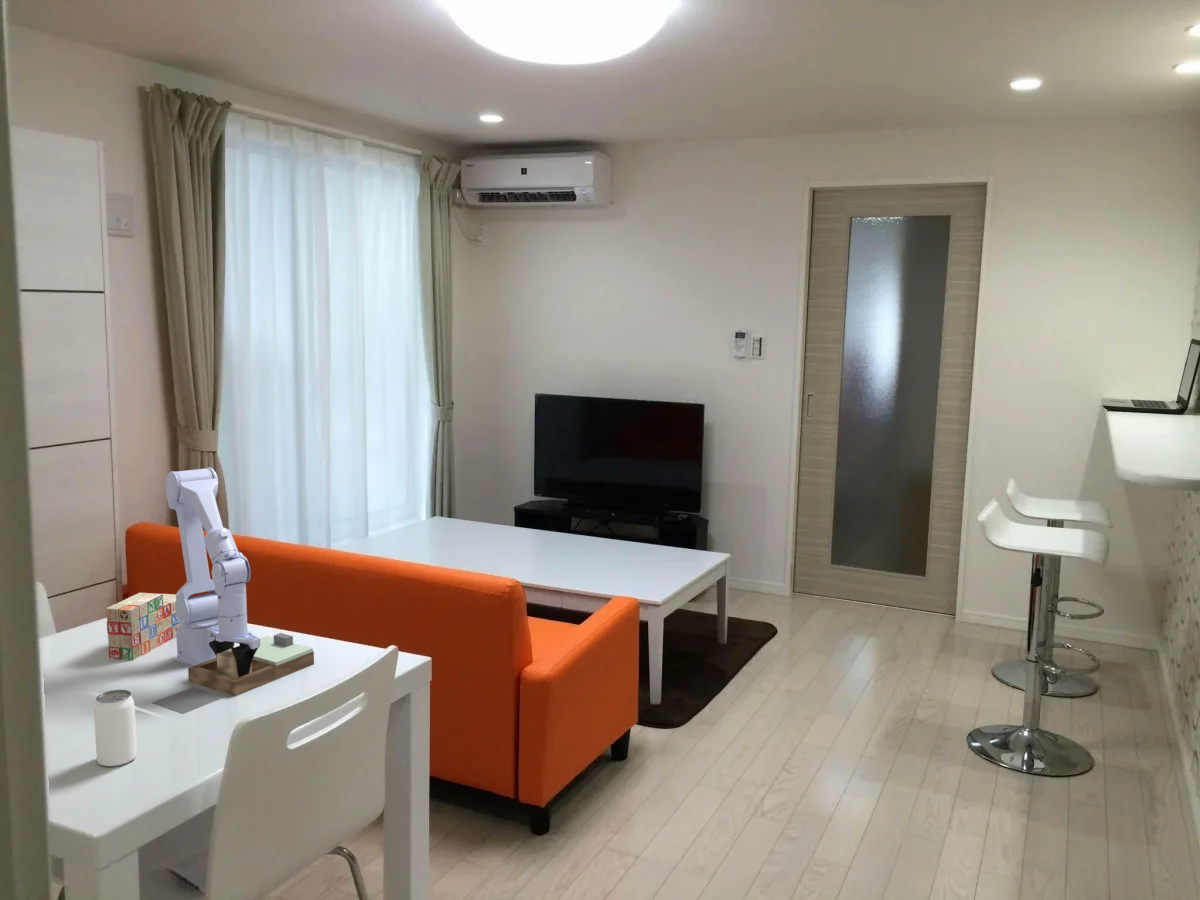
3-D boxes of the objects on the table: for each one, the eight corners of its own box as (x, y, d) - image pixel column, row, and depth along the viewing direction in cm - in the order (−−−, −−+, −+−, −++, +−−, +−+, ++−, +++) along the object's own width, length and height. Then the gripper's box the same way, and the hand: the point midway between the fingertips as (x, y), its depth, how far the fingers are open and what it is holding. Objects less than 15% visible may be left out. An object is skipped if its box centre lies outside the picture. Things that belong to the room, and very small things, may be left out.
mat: (151, 705, 197) (150, 702, 197) (193, 688, 205) (193, 686, 205) (183, 716, 192) (182, 713, 192) (225, 699, 201) (225, 696, 200)
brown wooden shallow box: (188, 683, 208) (188, 667, 208) (268, 653, 227) (267, 639, 226) (236, 698, 201) (235, 682, 201) (314, 666, 219) (313, 651, 219)
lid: (229, 652, 217) (229, 640, 217) (266, 639, 226) (266, 627, 226) (276, 665, 210) (275, 653, 209) (312, 651, 219) (312, 639, 218)
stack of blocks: (165, 629, 243) (162, 581, 241) (187, 630, 242) (185, 583, 240) (108, 659, 222) (105, 607, 220) (133, 661, 221) (130, 609, 219)
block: (217, 680, 209) (216, 653, 208) (236, 673, 213) (235, 647, 212) (233, 685, 206) (232, 658, 206) (252, 677, 211) (251, 651, 210)
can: (106, 751, 176) (102, 688, 175) (142, 750, 177) (139, 688, 175) (90, 768, 170) (86, 703, 168) (128, 767, 171) (125, 702, 169)
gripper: (194, 612, 208) (197, 672, 210) (240, 624, 201) (242, 686, 203) (221, 604, 214) (224, 662, 216) (267, 615, 207) (269, 676, 209)
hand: (235, 673), depth 210 cm, fingers closed on block, 5 cm apart
